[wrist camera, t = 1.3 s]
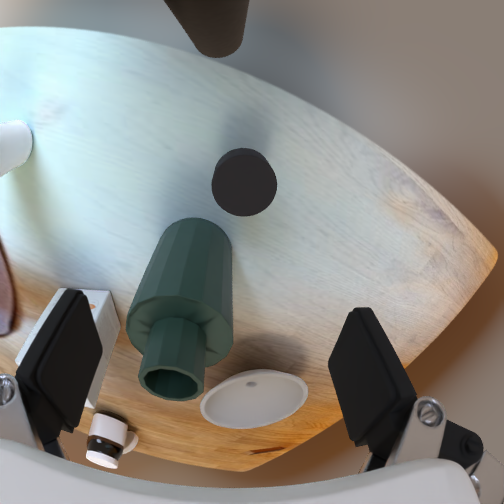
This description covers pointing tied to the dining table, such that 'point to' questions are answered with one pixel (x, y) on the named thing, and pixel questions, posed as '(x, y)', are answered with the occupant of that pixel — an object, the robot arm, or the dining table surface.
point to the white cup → (14, 145)
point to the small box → (105, 326)
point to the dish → (254, 399)
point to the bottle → (183, 309)
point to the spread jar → (109, 439)
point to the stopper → (243, 182)
